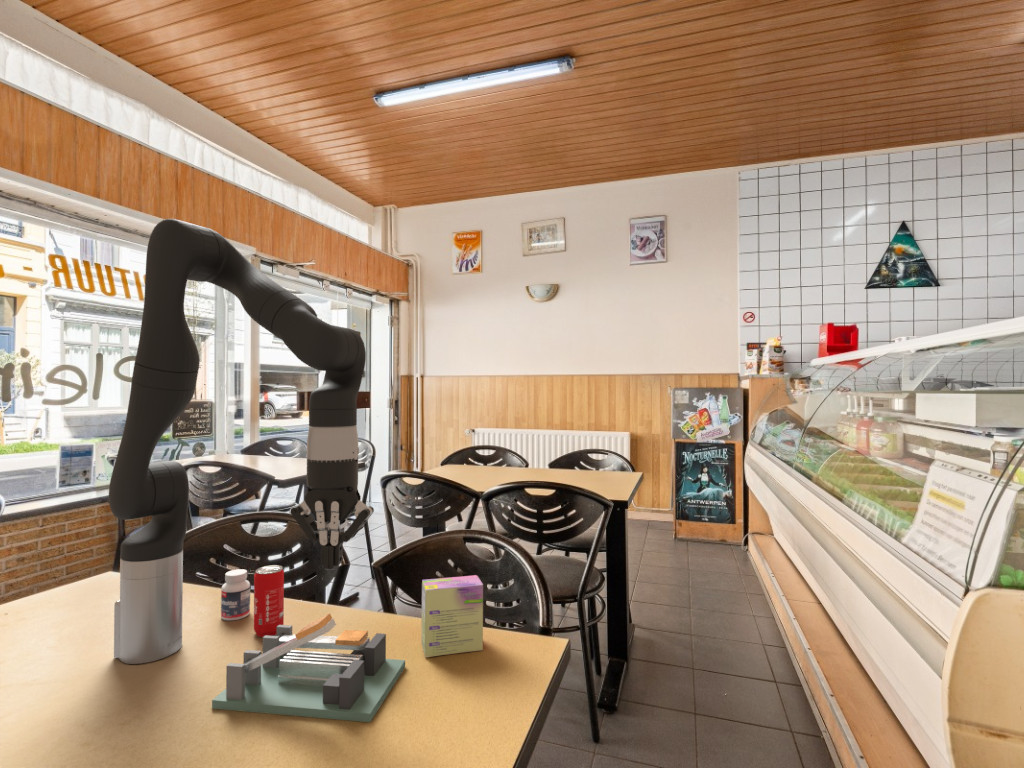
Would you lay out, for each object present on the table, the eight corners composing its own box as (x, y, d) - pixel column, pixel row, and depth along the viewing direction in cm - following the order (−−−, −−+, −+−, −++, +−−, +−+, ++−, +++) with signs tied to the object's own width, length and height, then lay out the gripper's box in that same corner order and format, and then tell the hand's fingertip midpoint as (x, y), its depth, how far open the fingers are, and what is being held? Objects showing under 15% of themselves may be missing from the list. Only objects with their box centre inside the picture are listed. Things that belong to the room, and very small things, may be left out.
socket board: (211, 708, 78) (212, 666, 78) (271, 657, 93) (271, 622, 93) (370, 722, 75) (370, 679, 75) (405, 667, 90) (405, 631, 90)
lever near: (235, 679, 79) (229, 668, 79) (250, 667, 83) (244, 656, 83) (326, 634, 77) (321, 622, 78) (338, 623, 81) (332, 611, 81)
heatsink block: (278, 683, 83) (278, 661, 83) (292, 669, 87) (292, 649, 87) (352, 689, 81) (352, 667, 81) (363, 675, 85) (363, 654, 85)
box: (476, 636, 101) (476, 573, 101) (483, 650, 96) (483, 584, 96) (420, 643, 98) (421, 579, 99) (424, 658, 93) (425, 590, 93)
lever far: (268, 649, 88) (268, 637, 88) (280, 639, 92) (280, 627, 92) (362, 652, 86) (362, 640, 86) (371, 642, 90) (370, 630, 90)
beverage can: (272, 639, 100) (272, 574, 100) (247, 636, 101) (248, 572, 101) (289, 627, 105) (289, 565, 105) (265, 625, 106) (266, 563, 106)
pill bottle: (214, 619, 108) (215, 575, 108) (233, 609, 113) (234, 567, 113) (237, 622, 107) (237, 577, 107) (255, 611, 112) (255, 569, 112)
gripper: (279, 457, 80) (278, 574, 80) (365, 459, 79) (364, 578, 78) (303, 451, 87) (302, 558, 87) (382, 453, 86) (382, 561, 86)
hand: (332, 567), depth 83 cm, fingers closed
